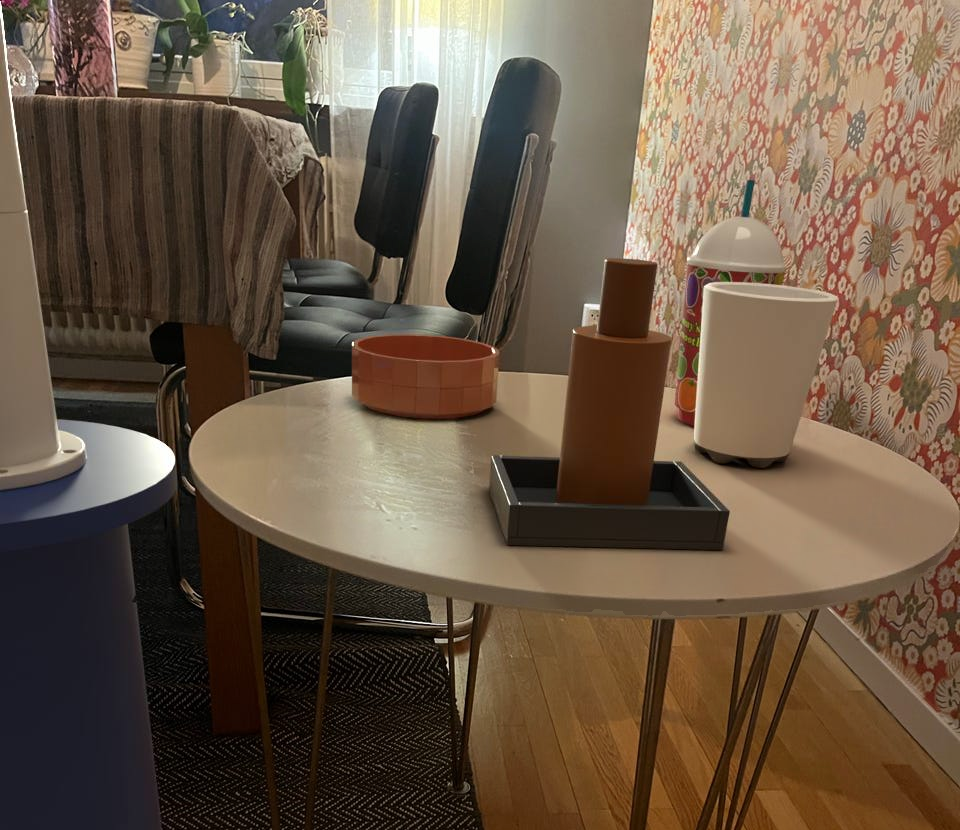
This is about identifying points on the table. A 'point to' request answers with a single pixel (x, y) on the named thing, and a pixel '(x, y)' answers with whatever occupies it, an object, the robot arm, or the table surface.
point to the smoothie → (722, 258)
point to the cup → (756, 367)
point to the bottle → (614, 393)
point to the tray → (605, 510)
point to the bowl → (424, 375)
